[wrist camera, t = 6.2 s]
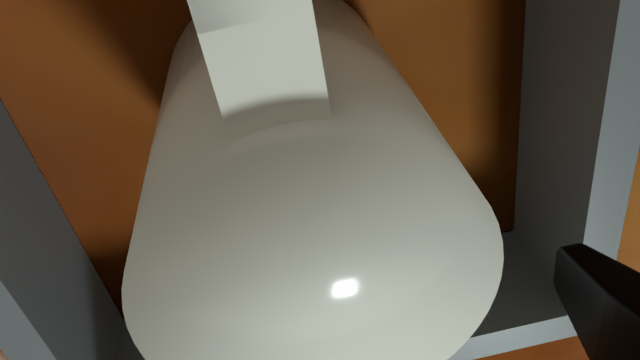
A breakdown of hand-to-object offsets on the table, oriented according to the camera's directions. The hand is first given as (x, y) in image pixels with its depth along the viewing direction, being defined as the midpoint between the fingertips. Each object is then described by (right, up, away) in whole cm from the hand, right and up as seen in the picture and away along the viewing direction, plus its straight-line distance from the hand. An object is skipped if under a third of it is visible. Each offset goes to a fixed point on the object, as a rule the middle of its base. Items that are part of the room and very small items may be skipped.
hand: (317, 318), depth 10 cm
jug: (-1, +7, +6) cm, 9 cm away
